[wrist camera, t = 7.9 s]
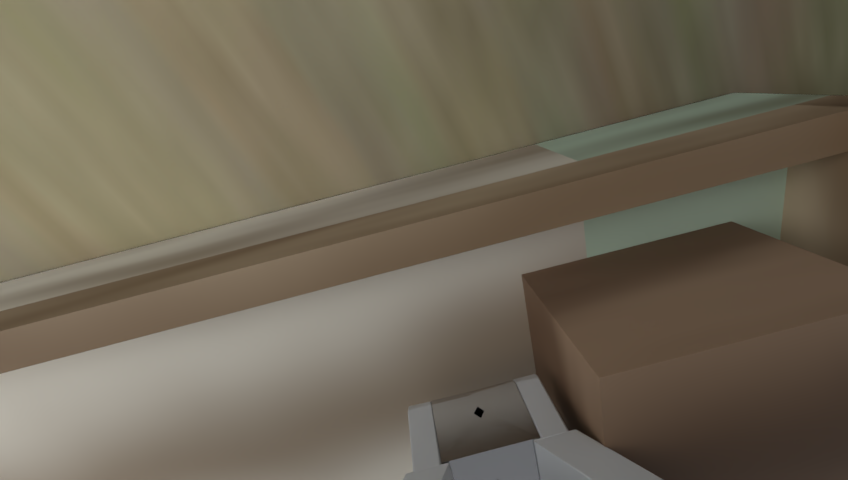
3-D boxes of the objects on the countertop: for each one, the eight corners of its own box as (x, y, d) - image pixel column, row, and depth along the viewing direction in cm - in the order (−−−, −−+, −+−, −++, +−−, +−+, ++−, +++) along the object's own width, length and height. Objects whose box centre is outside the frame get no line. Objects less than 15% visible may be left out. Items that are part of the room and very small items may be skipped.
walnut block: (521, 274, 9) (599, 378, 6) (731, 221, 9) (920, 294, 6) (545, 434, 11) (614, 578, 8) (720, 388, 11) (860, 512, 8)
